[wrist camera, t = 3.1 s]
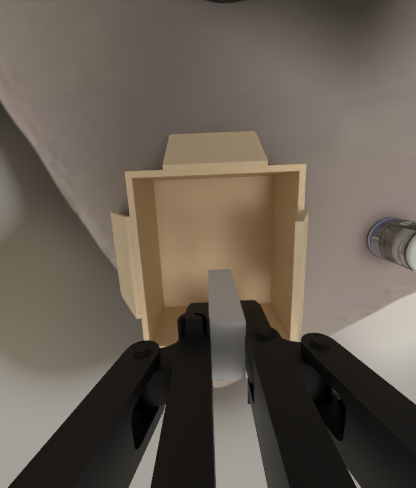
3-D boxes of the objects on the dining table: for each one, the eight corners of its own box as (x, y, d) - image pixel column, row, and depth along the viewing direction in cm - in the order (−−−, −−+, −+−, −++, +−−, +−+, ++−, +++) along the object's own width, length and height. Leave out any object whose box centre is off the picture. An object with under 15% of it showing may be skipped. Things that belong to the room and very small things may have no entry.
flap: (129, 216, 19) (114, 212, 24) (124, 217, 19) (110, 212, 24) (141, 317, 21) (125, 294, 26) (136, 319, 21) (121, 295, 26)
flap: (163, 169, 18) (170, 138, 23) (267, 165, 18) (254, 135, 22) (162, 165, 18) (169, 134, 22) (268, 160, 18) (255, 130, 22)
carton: (148, 176, 26) (123, 171, 18) (276, 170, 26) (306, 163, 18) (160, 308, 30) (144, 351, 22) (273, 304, 30) (296, 346, 22)
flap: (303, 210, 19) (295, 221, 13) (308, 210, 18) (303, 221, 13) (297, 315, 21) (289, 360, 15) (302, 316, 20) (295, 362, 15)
